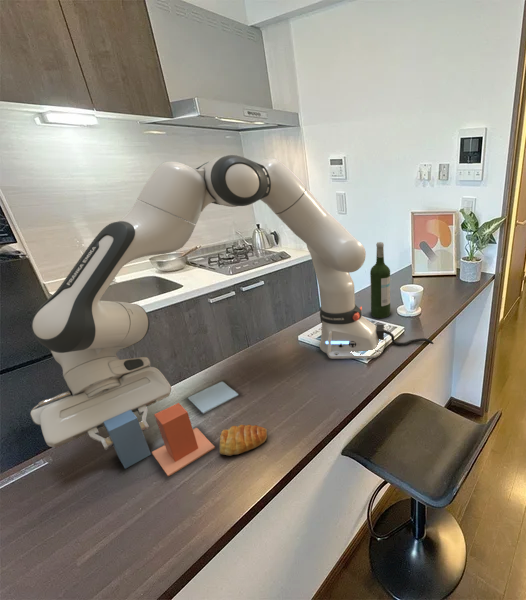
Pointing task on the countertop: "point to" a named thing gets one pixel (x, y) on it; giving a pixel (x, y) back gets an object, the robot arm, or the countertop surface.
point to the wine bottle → (380, 285)
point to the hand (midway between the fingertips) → (128, 438)
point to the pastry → (241, 439)
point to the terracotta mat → (172, 466)
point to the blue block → (127, 438)
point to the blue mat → (212, 397)
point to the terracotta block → (176, 431)
